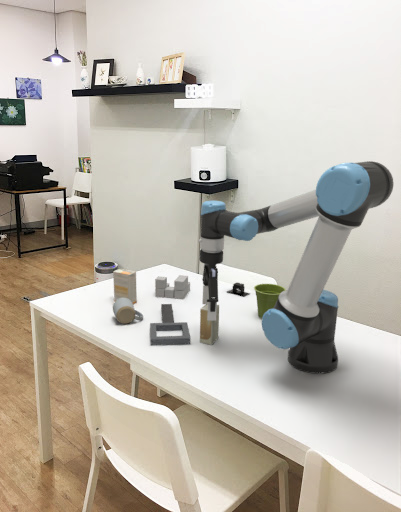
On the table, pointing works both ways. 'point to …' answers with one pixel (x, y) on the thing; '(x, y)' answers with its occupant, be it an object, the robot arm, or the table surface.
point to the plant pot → (267, 297)
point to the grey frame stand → (169, 329)
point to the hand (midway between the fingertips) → (208, 311)
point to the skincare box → (208, 326)
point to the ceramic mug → (125, 311)
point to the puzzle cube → (174, 292)
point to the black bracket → (238, 292)
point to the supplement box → (125, 285)
